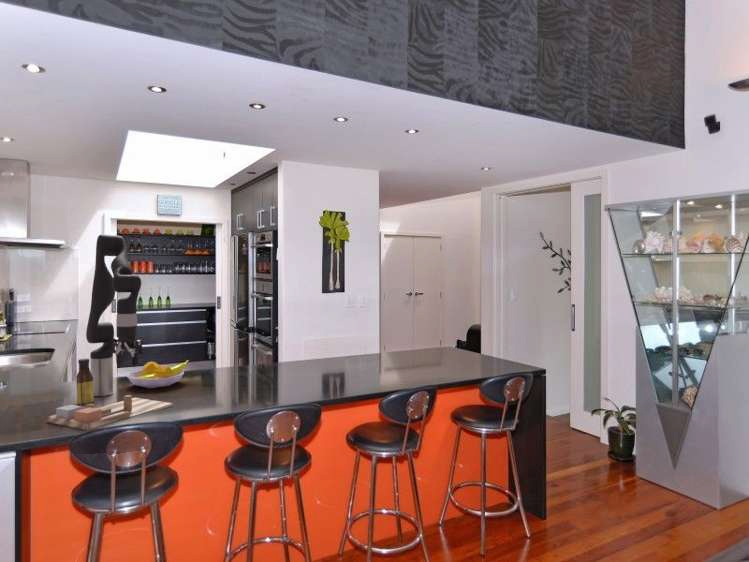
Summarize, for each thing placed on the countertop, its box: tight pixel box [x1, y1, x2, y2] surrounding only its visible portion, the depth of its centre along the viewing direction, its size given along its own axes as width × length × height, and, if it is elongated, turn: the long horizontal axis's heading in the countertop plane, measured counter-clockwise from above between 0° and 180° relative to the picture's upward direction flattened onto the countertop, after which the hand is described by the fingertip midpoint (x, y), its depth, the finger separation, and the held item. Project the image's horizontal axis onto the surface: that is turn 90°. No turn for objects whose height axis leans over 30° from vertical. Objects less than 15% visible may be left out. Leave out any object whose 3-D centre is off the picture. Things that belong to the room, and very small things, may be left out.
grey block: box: [55, 403, 95, 419], centre depth 200 cm, size 6×13×5 cm, turn 156°
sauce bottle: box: [75, 358, 95, 406], centre depth 221 cm, size 6×6×20 cm
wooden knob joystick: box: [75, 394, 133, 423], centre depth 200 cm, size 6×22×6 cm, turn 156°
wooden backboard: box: [46, 397, 174, 431], centre depth 209 cm, size 22×40×3 cm, turn 156°
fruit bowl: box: [126, 359, 190, 389], centre depth 261 cm, size 28×27×11 cm
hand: (127, 365), depth 208 cm, fingers open, 8 cm apart
